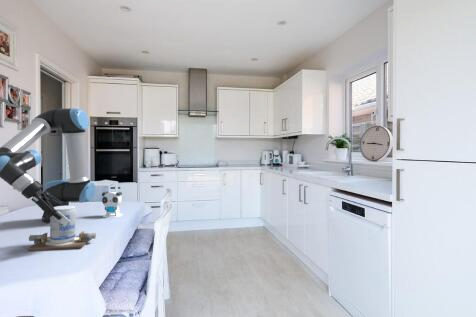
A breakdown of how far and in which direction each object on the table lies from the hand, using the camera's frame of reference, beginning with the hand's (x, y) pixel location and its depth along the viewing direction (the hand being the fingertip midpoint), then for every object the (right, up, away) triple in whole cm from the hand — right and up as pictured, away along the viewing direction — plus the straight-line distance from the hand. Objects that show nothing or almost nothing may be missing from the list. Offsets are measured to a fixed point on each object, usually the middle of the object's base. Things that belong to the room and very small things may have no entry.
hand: (70, 220), depth 125 cm
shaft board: (-3, -10, -1) cm, 11 cm away
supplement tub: (-3, -9, 0) cm, 9 cm away
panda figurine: (-5, -9, +53) cm, 54 cm away
